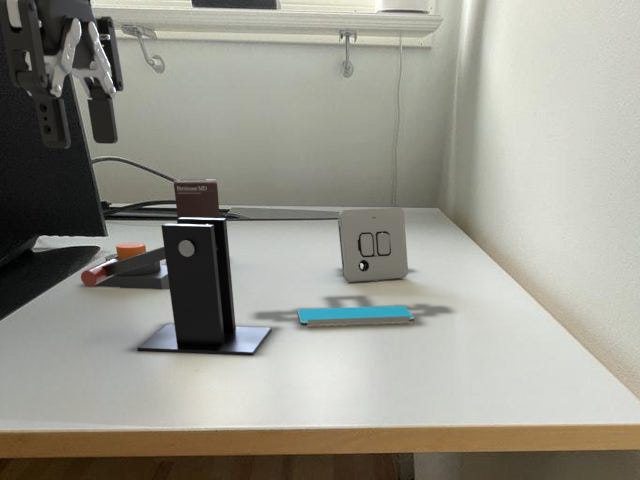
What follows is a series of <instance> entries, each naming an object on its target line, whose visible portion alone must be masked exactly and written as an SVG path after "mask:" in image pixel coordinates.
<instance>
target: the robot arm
mask: <svg viewBox="0 0 640 480" xmlns="http://www.w3.org/2000/svg"><path fill="white" fill-rule="evenodd" d="M114 23H115V22H114V20H113V18H112V16H109V15H107V16H104V15H103V16H95V14H94V9H93V6H92V2H91V0H0V26H1V31H2V36H3V43H4V49H5V53H6V60H7V66H8V71H9V77H10V81H11V83H12V85H13V86H14V87H15V88H22V89H24V90H26V93H27V94H28V95H29V97H31V98H33V101H34V106H35V112H36V116H37V122H38V126H39V131H40V135H41V140H42V144H43V146H44V147H46V148H47V149H62V150H63V149H69V148H70V147H71V145H72V141H71V135H70V130H69V124H68V117H67V112H66V106H65V101H64V98H60V97H61V96H62V93H63V87H64V81H65V77H66V76H67V75H69V74H71V75H72V76H73V77H74V78H77V79H78V80H79V82H80V84H81V86H82V88H83V90H84V92H85V94H86V96H87V98H88V99H86V101H87V108H88V113H89V119H90V124H91V125H90V126H91V131H92V138H93V141H94V142H95V143H96V144H105V145H106V144H107V145H108V144H110V145H111V144H112V145H113V144H117V143H118V141H119V136H118V128H117V123H116V116H115V109H114V102H113V100H114V99H116V97H117V92H123V91H124V88H125V86H124V78H123V72H122V66H121V60H120V54H119V47H118V42H117V36H116V29H115V24H114ZM22 53H25V56H24V61H25V63H26V64H27V65H28V69H24V65H23V57H22ZM109 70H110V73H111V76H110V74H109ZM47 75H48V76H47Z"/></svg>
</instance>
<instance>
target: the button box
mask: <svg viewBox="0 0 640 480" xmlns="http://www.w3.org/2000/svg"><path fill="white" fill-rule="evenodd" d="M104 259H105V261H108V260H110V259H115V260H117V261H119V260H122V259H118V256H117V252H116V253H112V254H109V255H107V256H105V258H104ZM93 287H106V288H119V289H145V290H146V289H149V290H170V288H169V280H168V273H167V265H166V264H161V261H158V262H154V263H151V264H148V265H145V266H141V267H138V268H135V269H132V270H128V271H125V272H122V273H119V274H116V275H114V276H112V277H110V278H108V279H106V280H104V281H102V282H100V283H98V284H96V285H94V286H93Z"/></svg>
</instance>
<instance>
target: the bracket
mask: <svg viewBox="0 0 640 480" xmlns="http://www.w3.org/2000/svg"><path fill="white" fill-rule="evenodd" d="M208 223H209V224H210V225H205V224H208ZM160 226H161V234H162V241H163V247H164V250H165V257H166V259H165V265H167V273H168V280H169V288H170V289H169V296H170V301H171V309H172V317H173V323H166V325H164V326H162V327H161V328H160V329H159V330H158V331H157V332H155V333H154V334H153V335H152V336H150V337H149V338H148V339H146V340H145V341H144V342H143V343H142V344H140V345H139V346H138V347H137V349H136V350H137V352H147V353H148V352H149V353H150V352H151V353H171V354H172V353H174V354H175V353H177V354H198V355H199V354H200V355H201V354H203V355H225V356H227V355H228V356H251V357H253V356H254V355H255V354H256V352H258V350H259V349H260V348H261V346H262V344H264V342H265V340H266V339H267V338H268V336H269V335H270V334H271V332H272V329H273V328H272V327H262V326H261V327H260V326H236V316H235V304H234V303H235V302H234V292H233V282H232V270H231V268H232V267H231V257H230V247H229V235H228V223H227V218H225V217H220V218H183V217H181V218H178V217H177V218H176V223H163V224H162V225H160ZM215 240H216V242H217V245H218V248H219V250H218V251H216V244H215Z"/></svg>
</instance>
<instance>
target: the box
mask: <svg viewBox="0 0 640 480" xmlns="http://www.w3.org/2000/svg"><path fill="white" fill-rule="evenodd" d="M173 189H174V198H175V206H176V215H177V219H178V218H181V217H183V218H221V215H220V203H219V189H218V181H217V179H216V178H173Z"/></svg>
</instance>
